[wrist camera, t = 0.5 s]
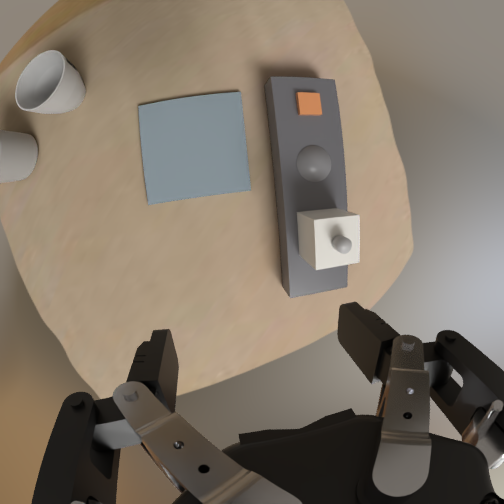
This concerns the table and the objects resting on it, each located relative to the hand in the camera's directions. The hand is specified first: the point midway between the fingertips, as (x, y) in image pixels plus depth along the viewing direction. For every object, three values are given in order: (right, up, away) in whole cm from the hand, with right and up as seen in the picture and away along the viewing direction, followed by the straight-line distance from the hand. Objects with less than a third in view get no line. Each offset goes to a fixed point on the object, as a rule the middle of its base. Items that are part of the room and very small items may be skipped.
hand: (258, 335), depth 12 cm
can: (-36, +19, +17) cm, 44 cm away
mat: (-8, +18, +22) cm, 29 cm away
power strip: (+7, +13, +26) cm, 30 cm away
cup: (-27, +27, +16) cm, 41 cm away
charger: (+8, +7, +25) cm, 28 cm away
